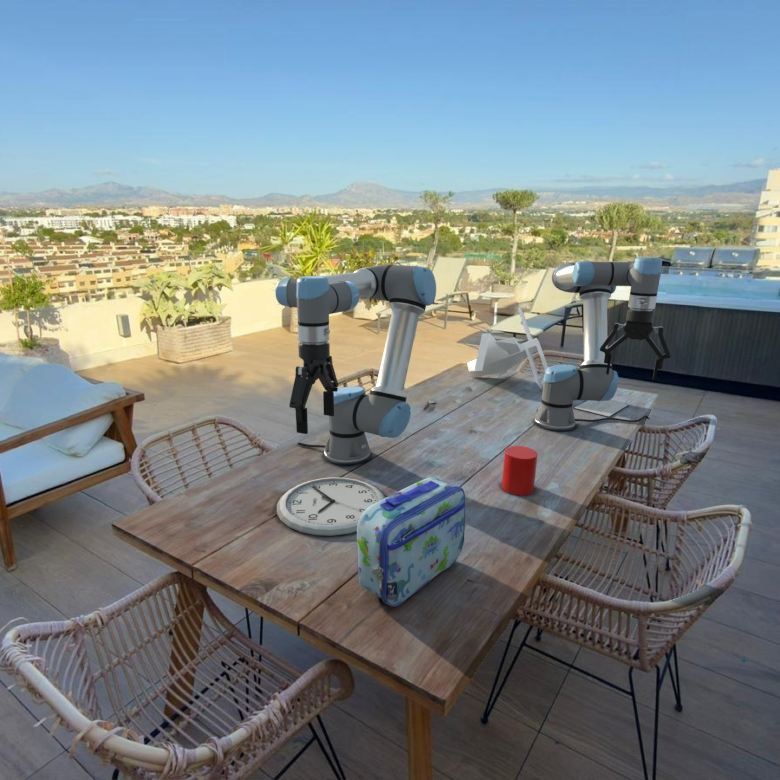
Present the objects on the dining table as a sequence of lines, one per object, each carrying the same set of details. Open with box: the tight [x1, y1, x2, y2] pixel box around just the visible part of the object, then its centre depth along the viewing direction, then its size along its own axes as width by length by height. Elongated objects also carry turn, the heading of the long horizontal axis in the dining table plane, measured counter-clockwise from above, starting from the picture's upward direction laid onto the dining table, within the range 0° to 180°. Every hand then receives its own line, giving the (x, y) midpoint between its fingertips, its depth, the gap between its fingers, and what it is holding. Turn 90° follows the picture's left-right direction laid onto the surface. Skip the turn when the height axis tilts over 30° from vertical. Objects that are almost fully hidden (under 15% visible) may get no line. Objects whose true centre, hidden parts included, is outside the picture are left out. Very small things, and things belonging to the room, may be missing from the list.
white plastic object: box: [466, 306, 549, 390], centre depth 259 cm, size 37×45×31 cm
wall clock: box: [276, 476, 386, 537], centre depth 142 cm, size 30×2×30 cm
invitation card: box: [573, 400, 629, 418], centre depth 226 cm, size 21×1×15 cm
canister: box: [501, 445, 538, 496], centre depth 153 cm, size 9×9×12 cm
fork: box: [423, 395, 437, 411], centre depth 224 cm, size 3×16×2 cm, turn 160°
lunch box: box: [356, 476, 466, 608], centre depth 110 cm, size 26×11×21 cm, turn 134°
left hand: (316, 423), depth 133 cm, fingers open, 13 cm apart
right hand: (630, 376), depth 166 cm, fingers open, 13 cm apart
